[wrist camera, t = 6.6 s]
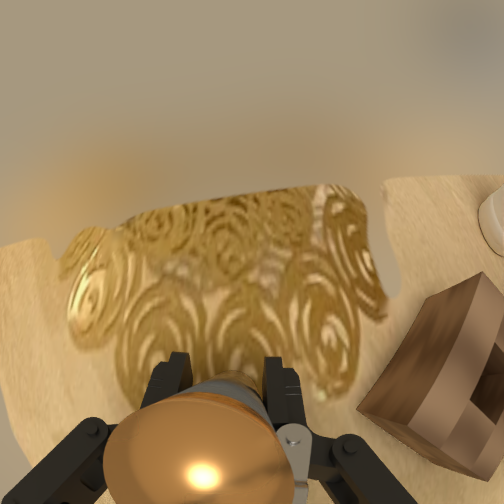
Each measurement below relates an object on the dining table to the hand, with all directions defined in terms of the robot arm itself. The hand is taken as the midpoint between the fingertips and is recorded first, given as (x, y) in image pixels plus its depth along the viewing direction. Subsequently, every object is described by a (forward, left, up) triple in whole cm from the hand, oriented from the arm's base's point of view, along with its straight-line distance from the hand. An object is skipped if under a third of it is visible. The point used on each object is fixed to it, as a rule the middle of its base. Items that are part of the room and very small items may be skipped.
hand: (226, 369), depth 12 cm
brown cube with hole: (-9, +16, -9) cm, 21 cm away
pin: (+1, +1, -7) cm, 7 cm away
